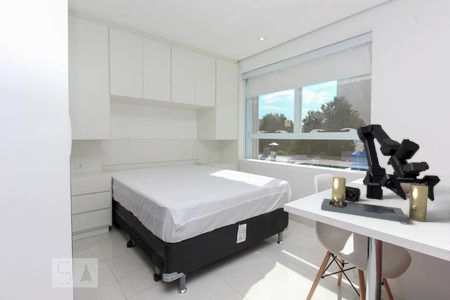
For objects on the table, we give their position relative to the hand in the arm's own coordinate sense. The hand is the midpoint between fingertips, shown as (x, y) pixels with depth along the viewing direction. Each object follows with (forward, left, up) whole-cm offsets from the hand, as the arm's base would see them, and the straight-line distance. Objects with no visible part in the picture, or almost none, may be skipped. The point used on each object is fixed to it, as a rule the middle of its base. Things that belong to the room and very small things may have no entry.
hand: (419, 200), depth 83 cm
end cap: (-24, +17, -8) cm, 30 cm away
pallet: (-19, -2, -7) cm, 20 cm away
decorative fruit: (+2, +42, -8) cm, 43 cm away
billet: (-27, -2, -7) cm, 28 cm away
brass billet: (0, +1, -7) cm, 8 cm away
